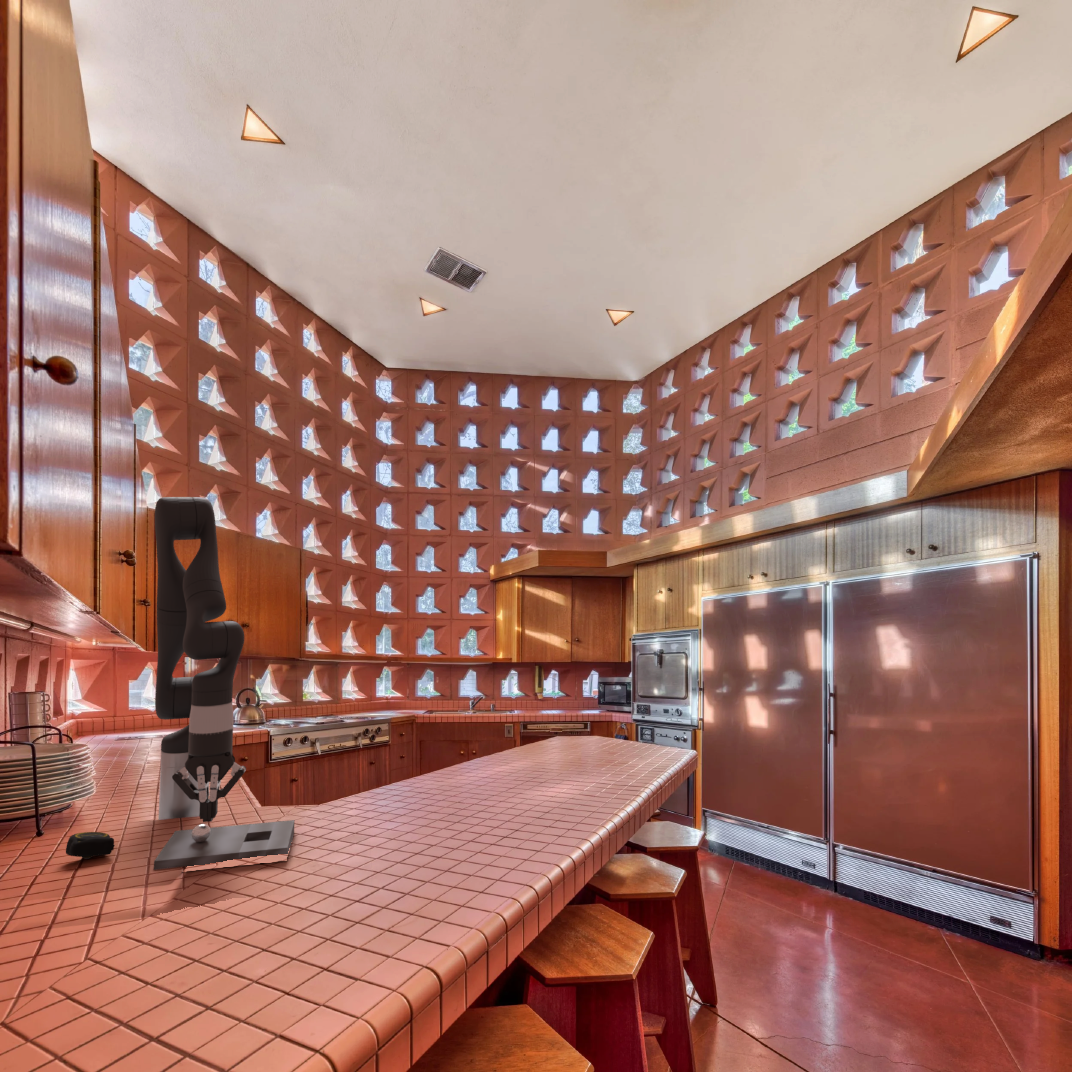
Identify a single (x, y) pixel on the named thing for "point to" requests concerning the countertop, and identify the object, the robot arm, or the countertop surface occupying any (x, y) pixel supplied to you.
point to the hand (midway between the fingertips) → (208, 820)
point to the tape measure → (89, 844)
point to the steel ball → (201, 833)
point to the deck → (226, 844)
